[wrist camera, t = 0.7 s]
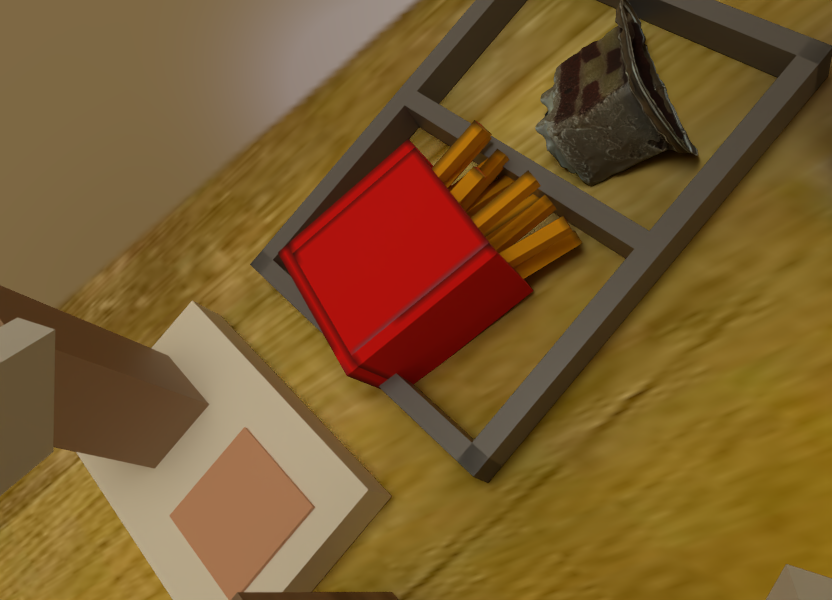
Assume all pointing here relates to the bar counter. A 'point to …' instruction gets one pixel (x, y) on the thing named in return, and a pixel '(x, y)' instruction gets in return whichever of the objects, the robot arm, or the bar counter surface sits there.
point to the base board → (204, 454)
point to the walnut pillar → (314, 596)
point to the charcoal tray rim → (568, 195)
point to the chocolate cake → (610, 106)
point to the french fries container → (422, 258)
